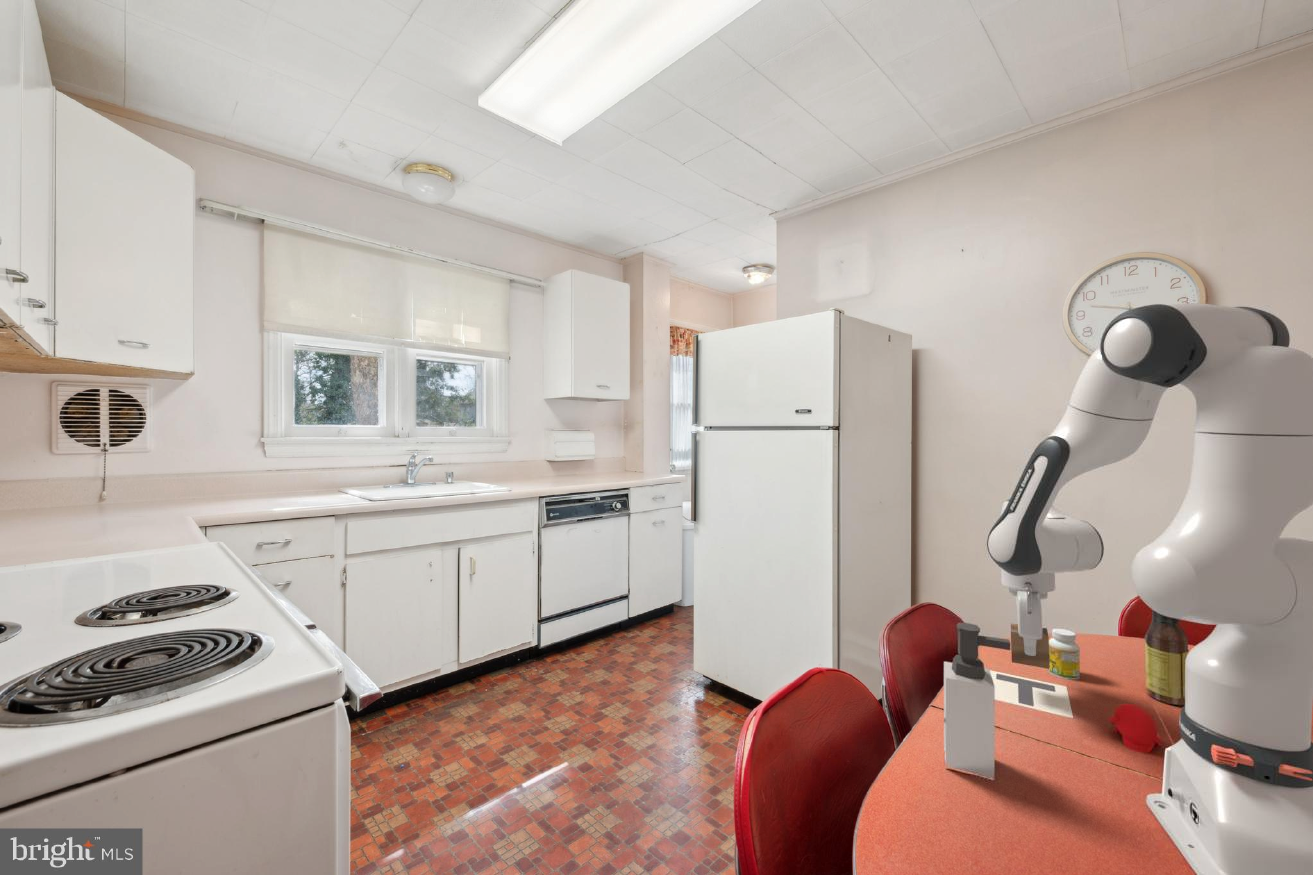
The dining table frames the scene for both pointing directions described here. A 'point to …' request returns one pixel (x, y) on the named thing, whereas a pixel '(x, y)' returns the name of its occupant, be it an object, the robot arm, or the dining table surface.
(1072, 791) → the dining table surface
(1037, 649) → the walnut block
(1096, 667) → the dining table surface
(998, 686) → the letter tile
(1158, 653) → the sauce bottle
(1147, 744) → the red rounded lump
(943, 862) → the dining table surface
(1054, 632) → the supplement bottle
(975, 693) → the soap dispenser
